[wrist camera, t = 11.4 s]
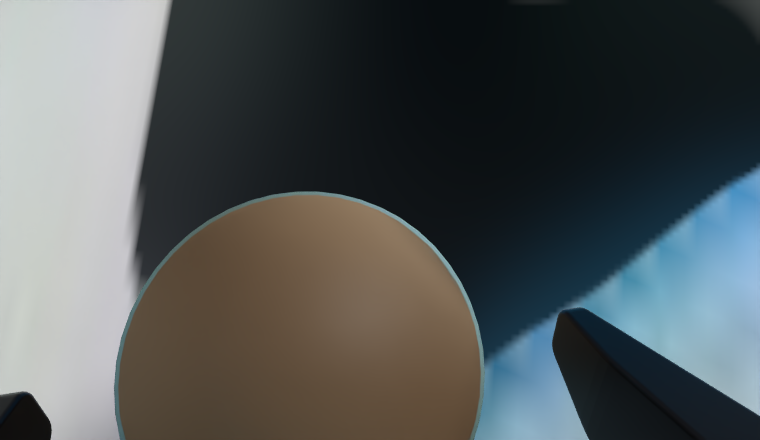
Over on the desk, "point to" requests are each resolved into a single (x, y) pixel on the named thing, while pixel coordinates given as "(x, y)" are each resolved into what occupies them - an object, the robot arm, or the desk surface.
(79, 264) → the desk surface
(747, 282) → the desk surface
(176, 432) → the end plug
